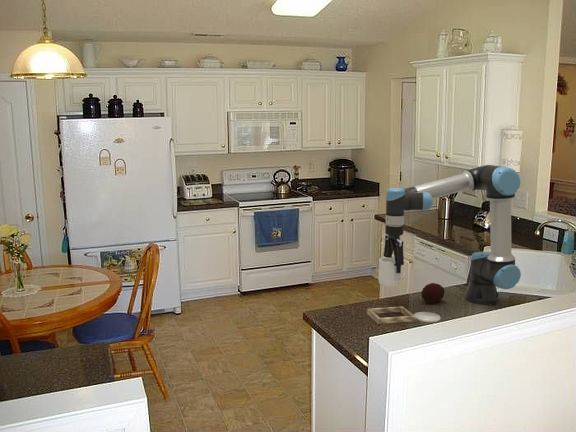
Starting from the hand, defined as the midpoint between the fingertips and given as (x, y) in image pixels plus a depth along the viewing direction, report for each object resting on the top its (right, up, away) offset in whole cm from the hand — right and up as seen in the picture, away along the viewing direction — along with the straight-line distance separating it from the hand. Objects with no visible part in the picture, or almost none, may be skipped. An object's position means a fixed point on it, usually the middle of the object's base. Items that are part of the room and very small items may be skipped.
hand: (392, 277), depth 233 cm
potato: (+23, -15, +23) cm, 36 cm away
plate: (+15, -18, +2) cm, 23 cm away
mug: (0, -3, +1) cm, 3 cm away
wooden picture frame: (0, -18, +3) cm, 18 cm away
